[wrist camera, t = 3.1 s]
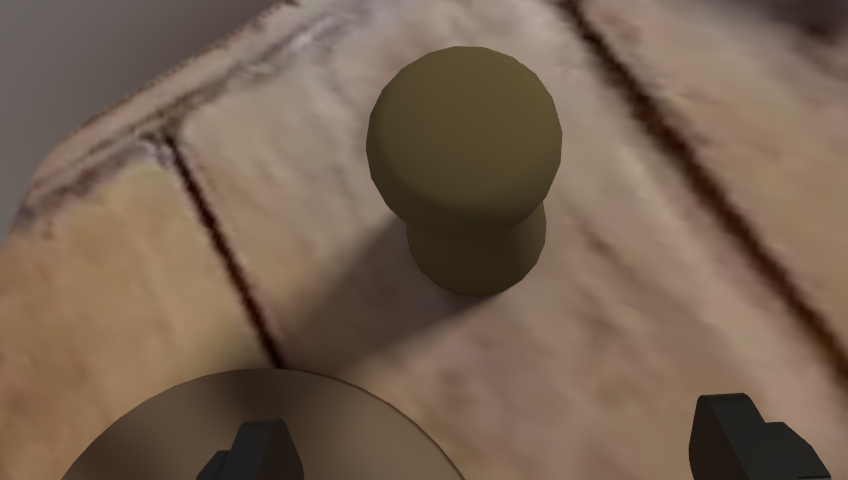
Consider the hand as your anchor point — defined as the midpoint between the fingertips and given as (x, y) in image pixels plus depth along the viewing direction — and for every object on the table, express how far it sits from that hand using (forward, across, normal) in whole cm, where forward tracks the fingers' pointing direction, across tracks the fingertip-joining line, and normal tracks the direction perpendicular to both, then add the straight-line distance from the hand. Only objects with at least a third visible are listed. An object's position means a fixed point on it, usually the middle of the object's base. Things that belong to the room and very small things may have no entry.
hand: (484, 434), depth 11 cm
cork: (+13, 0, +3) cm, 14 cm away
